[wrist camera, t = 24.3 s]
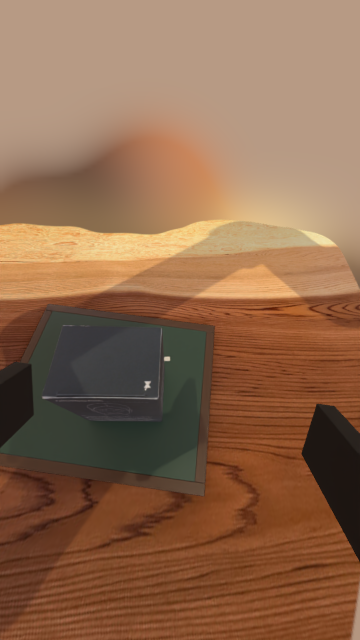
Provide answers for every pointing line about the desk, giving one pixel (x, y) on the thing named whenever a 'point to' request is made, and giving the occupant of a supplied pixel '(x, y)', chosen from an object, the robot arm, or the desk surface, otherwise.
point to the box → (108, 373)
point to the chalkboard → (122, 436)
